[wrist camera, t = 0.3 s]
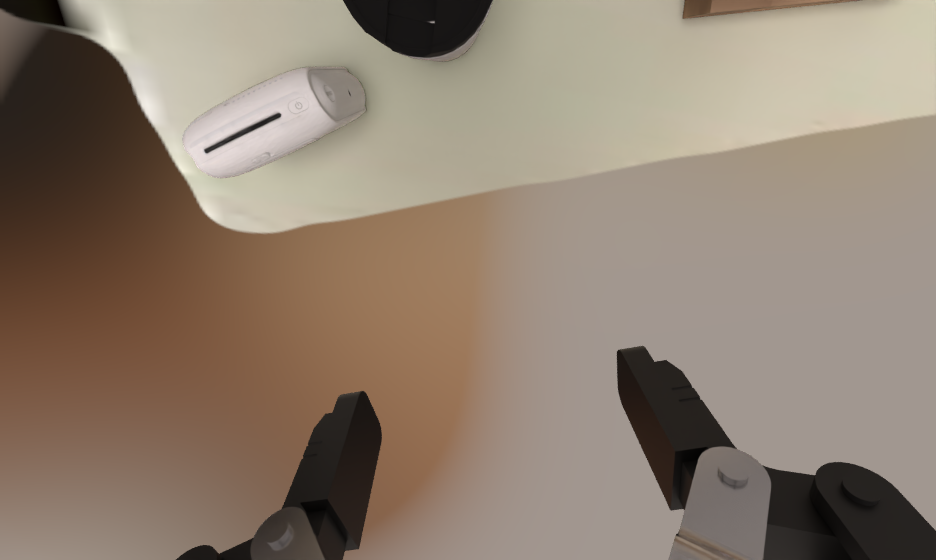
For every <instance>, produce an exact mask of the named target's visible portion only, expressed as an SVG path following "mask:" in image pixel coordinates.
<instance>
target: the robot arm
mask: <svg viewBox="0 0 936 560" xmlns="http://www.w3.org/2000/svg"><path fill="white" fill-rule="evenodd" d="M617 378H618V392H619V396H620V400H621V403H622V405H623V408H624V410H625V412H626V414H627V416H628V419H629V421H630V423H631V425H632V428H633V430H634V432H635V434H636V436H637V438H638V440H639V443H640V445H641V447H642V449H643V452H644V454H645V456H646V458H647V460H648V462H649V465H650V467H651V469H652V471H653V473H654V475H655V477H656V480H657V482H658V484H659V486H660V488H661V491H662V493H663V495H664V497H665V499H666V501H667V504H668V506H669V508H670V510H677V509H684V510H685V511H684V515H683V519H682V523H681V526H680V530H679V532H678V534H676V536H675V539H674V542H673V546H672V549H671V553H670V557H669V560H936V531H935V530H934V528H933V527H932V526H931V525H930V524H929V523H928V522H927V521H926V520H925V519H924V518H923V517H922V516H921V514H919V512H918V511H917V510H916V509H915V508H914V507H913V506H912V505H911V504H910V503H909V502H908V501H907V500H906V498H905V497H903V495H902V494H901V493H900V492H899V491H898V490H897V489H896V488H895V487H894V486H893V485H892V484H891V483H889V482H888V481H887V480H886V479H884V478H883V477H881V476H879V475H878V474H876V473H874V472H872V471H870V470H868V469H865V468H863V467H860V466H857V465H854V464H850V463H843V462H833V463H827V464H825V465H823V466H821V467H820V468H819V469H818V470H817V472H816V475H809V474H802V473H794V472H788V471H781V470H776V469H772V468H768V467H765V466H763V465H761V464H760V463H759V462H758V461H757V460H756V459H754V458H753V457H752V456H750V455H748V454H747V453H745V452H743V451H740V450H738V449H737V448H736V447H735V446H734V445H733V444H732V442H731V441H730V439H729V438H728V437H727V435H726V434H725V432H724V431H723V429H722V428H721V427H720V425H719V424H718V422H717V421H716V419H715V418H714V417H713V415H712V414H711V412H710V411H709V409H708V408H707V407H706V405H705V404H704V402H703V401H702V400H700V396H699V395H698V394H697V392H696V391H695V389H694V388H692V386H691V384H690V382H689V381H688V379H687V378H686V377H685V375H684V374H683V372H682V371H681V370H679V369H678V368H677V367H675V366H674V365H672V364H671V363H669V362H668V361H667V360H664V361H657V362H654V360H653V359H652V357H651V356H650V354H649V353H648V351H647V350H646V348H645V347H644V346H639V347H633V348H627V349H621V350H618V351H617ZM381 440H382V433H381V426H380V423H379V420H378V418H377V416H376V414H375V411H374V409H373V407H372V405H371V403H370V400H369V398H368V396H367V394H366V393H365V392H364V391H360V392H355V393H348V394H343V395H340V396H339V397H338V399H337V402H336V404H335V407H334V410H333V413H328V414H325V415H324V416H323V418H322V419H321V420H320V421H319V423H318V424H317V425H316V427H315V428H314V430H313V432H312V435H311V437H310V440H309V442H308V446H307V447H306V450H305V452H304V455H303V459H302V460H301V462H300V465H299V467H298V470H297V473H296V475H295V477H294V480H293V482H292V485H291V487H290V490H289V492H288V495H287V497H286V500H285V502H284V505H283V507H282V509H281V510H279V511H277V512H276V513H274V514H272V515H271V516H270V517H269V518H268V519H267V520H265V521H264V522H263V524H262V525H261V526H260V527H259V529H258V530H257V532H256V534H255V535H254V538H252V539H250V540H248V541H246V542H244V543H242V544H239V545H237V546H235V547H233V548H231V549H229V550H226V551H224V552H222V553H220V554H219V553H218V552H217V551H216V550H215V549H214V548H213V547H211V546H207V545H202V546H198V547H195V548H192V549H191V550H189V551H187V552H185V553H184V554H183V555H181V556H180V557H179V558H177V559H176V560H342V559H343V556H344V552H345V551H346V550H354V549H359V546H360V542H361V536H362V531H363V527H364V522H365V518H366V513H367V508H368V503H369V499H370V494H371V489H372V484H373V480H374V475H375V470H376V465H377V460H378V456H379V451H380V446H381Z"/></svg>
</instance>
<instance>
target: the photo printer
mask: <svg viewBox="0 0 936 560" xmlns="http://www.w3.org/2000/svg"><path fill="white" fill-rule="evenodd" d="M365 111H366V108H365V92H364V89H363V87H362V85H361V83H360V82H359V80H358V79H357V78H356V77H355V76H353V75H352V74H350V73H348V71H347V69H346V68H344V67H304V68H299V69H295V70H291V71H288V72H285V73H283V74H280V75H278V76H275V77H273V78H271V79H268V80H266V81H264V82H262V83H260V84H257V85H255V86H253V87H251V88H249V89H247V90H245V91H243V92H241V93H239V94H237V95H235V96H233V97H231V98H230V99H228V100H226V101H224V102H222V103H220V104H218V105H217V106H215V107H213V108H212V109H210V110H208V111H207V112H205V113H203V114H202V115H200V116H199V117H198V118H196V119H195V120H194V121H193V122H192V123H191V124H190V125H189V126H188V127H187V128H186V130H185V131H184V133H183V138H182V140H183V145H184V149H185V151H186V152H187V153H188V154H189V155H190V156H191V157H192V159H193V160H194V162H195V164H196V166H197V168H199V169H200V170H201V171H203V172H204V173H206V174H208V175H210V176H212V177H215V178H228V177H235V176H238V175H241V174H244V173H246V172H249V171H252V170H254V169H257V168H259V167H261V166H264V165H266V164H268V163H270V162H273V161H275V160H277V159H279V158H281V157H284V156H286V155H288V154H290V153H292V152H294V151H296V150H298V149H300V148H302V147H304V146H306V145H308V144H310V143H312V142H314V141H315V140H319V139H320V138H321V137H323V136H324V135H326V134H328V133H330V132H332V131H334V130H336V129H338V128H340V127H342V126H344V125H347V124H348V123H350V122H352V121H353V120H355V119H356V118H358V117H359V116H361V115H362V114H363V113H364V112H365Z"/></svg>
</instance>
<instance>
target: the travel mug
mask: <svg viewBox="0 0 936 560" xmlns="http://www.w3.org/2000/svg"><path fill="white" fill-rule="evenodd" d="M343 1H344V3H345V5H346V6H347V8H348V10H349V11H350V13H351V15H352V16H353V18H354V19H355V20H356V21H357V23H358V24H359V25H360V26H361V27H362V29H363V30H364V31H365V32H366V33H368V34H369V35H371V36H373V37H374V38H375V39H377V40H378V41H380V42H381V43H382V44H384V45H386V46H387V47H389V48H391V49H392V50H393V51H395V52H398V53H400V54H402V55H405V56H408V57H412V58H416V59H424V60H432V61H442V62H443V61H450V60H453V59H456V58H458V57H460V56H461V55H463V54H464V53H465V52H466V51H467V50H468V49H469V48H470V47H471V45H472V44H473V43H474V41H475V39H476V37H477V35H478V33H479V31H480V29H481V27H482V25H483V23H484V21H485V19H486V17H487V15H488V12H489V10H490V8H491V5H492V1H493V0H343Z"/></svg>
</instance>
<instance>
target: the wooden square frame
mask: <svg viewBox="0 0 936 560" xmlns="http://www.w3.org/2000/svg"><path fill="white" fill-rule="evenodd" d="M850 1H859V0H685V5H684V12H683V19H684V18H694V17H704V16H713V15H723V14H733V13H743V12H752V11H762V10H772V9H782V8H791V7H801V6H811V5H820V4H830V3H840V2H850Z"/></svg>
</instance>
